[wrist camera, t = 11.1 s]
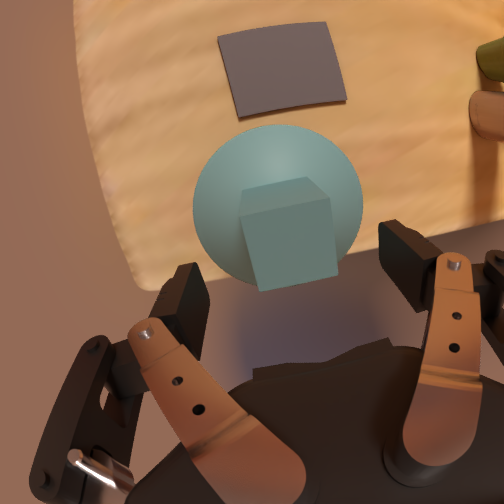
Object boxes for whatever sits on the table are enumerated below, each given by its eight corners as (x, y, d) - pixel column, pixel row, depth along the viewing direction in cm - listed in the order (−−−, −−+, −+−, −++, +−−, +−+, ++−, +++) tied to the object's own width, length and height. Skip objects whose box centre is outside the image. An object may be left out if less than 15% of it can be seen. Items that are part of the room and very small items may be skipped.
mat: (324, 23, 26) (325, 21, 25) (345, 100, 31) (347, 99, 31) (217, 37, 27) (217, 36, 27) (238, 117, 33) (238, 117, 32)
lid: (345, 113, 15) (389, 110, 9) (361, 262, 20) (395, 310, 14) (175, 149, 16) (140, 162, 10) (221, 292, 21) (213, 349, 15)
